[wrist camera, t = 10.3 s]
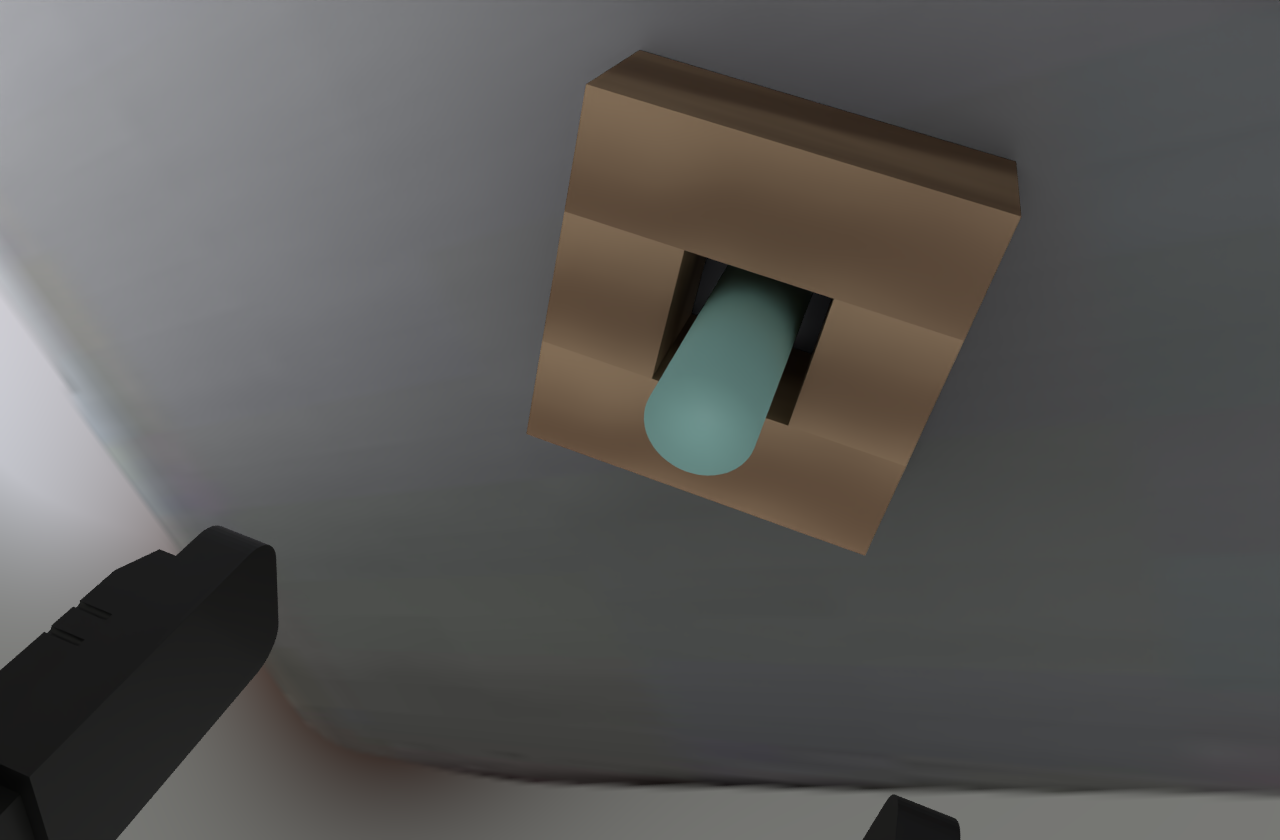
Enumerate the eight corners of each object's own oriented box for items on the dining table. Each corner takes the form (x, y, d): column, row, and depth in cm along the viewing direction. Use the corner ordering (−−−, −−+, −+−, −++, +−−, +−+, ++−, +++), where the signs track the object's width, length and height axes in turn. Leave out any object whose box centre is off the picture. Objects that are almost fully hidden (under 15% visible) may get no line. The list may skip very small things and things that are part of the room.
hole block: (639, 50, 30) (586, 84, 26) (1015, 161, 29) (1021, 216, 25) (576, 367, 37) (526, 434, 33) (878, 472, 35) (864, 555, 31)
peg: (740, 225, 32) (657, 359, 24) (826, 253, 32) (771, 398, 24) (718, 303, 34) (633, 452, 26) (799, 330, 34) (739, 490, 25)
